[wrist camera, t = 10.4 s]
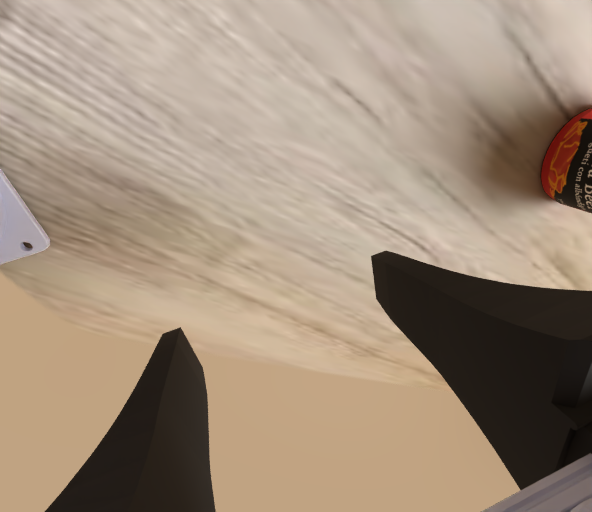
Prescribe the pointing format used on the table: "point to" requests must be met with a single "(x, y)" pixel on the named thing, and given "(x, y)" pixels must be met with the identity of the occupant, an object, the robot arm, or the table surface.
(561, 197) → the canned food
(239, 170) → the table surface
